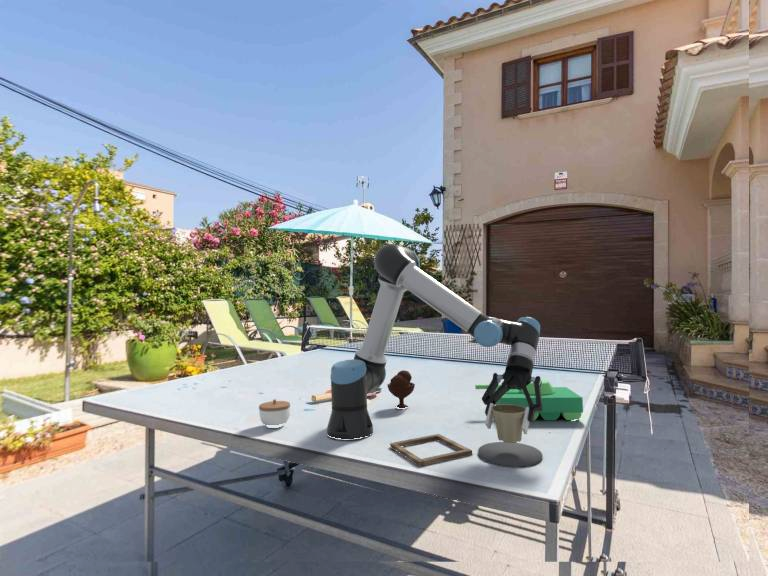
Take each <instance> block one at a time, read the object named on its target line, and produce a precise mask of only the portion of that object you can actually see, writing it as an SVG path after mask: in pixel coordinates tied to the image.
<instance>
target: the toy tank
mask: <svg viewBox="0 0 768 576" xmlns="http://www.w3.org/2000/svg"><path fill="white" fill-rule="evenodd" d="M541 381H542V384H541V387H540V389H541V398H542V406H543V410H542V411H536V412H535V414H534V420H533V422H534V421H536V420H537V418H538V417H539V416H540V417H541V418H542V419H544V420H545V421H546V420H555V421H557V420H558V419H559V418H560V417H563V418H564V419H565V420H566V421H567V420H574V419H579V418H580V419H581V416H582V413H584V404H583V397H582V396H581V395H579V394H577V393H576V392H574V391H573V390H571V389H570V388H568V387H566V386H552V384H551V383H550V382H549V380H548V381H546V380H543V379H541ZM488 386H489V384H475V390H487V388H488ZM500 386H501V384H498V386H497V388H496V390H497V389H498V388H499V387H500ZM526 387H527V390H528V392H529V395H530V397H531V400H532V402H533V404H536V397H535V388H534V384H533V382H531V383H529V384H528V385H527V386H526ZM496 390H495V391H496ZM500 404H512V405H519V406H522V407H525V408H526V407H529V404H528V402H527V399H526V397H525V394H524V392H523V389H521V390H517V389H510V390H509V391H508V392H506V393H505V394H504V395H503V396H502V397H501V399H500V400H499V401H498V402H497V403H496V404H495V405H500ZM495 405H494V406H495ZM580 419H579V420H580Z"/></svg>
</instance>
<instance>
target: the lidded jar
mask: <svg viewBox="0 0 768 576" xmlns="http://www.w3.org/2000/svg"><path fill="white" fill-rule="evenodd" d="M290 407H291V403H290V402H289V401H285V400H277V399H273V400H272V401H267V402H263V403H260V404H259V406H258V410H259V418H260V421H261V423H262V424H263V425H264V424H265V425H279V424H283V423H285V424H287V422H288V421H289V417H290V413H291V408H290ZM265 425H264V426H265Z"/></svg>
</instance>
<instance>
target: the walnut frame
mask: <svg viewBox="0 0 768 576" xmlns="http://www.w3.org/2000/svg"><path fill="white" fill-rule="evenodd" d="M434 441H438V442H441V443H443V445H444V444H445V445H447V446H448V447H450V448H452V449H454V450H456V451H451V452H447V453H443V454H439V455H435V456H429V457H425V458H424V457H423V458H421V457H419V456H417V454H415V453H413V452H411V451H409V450H408V449H406V448H405V447H407V446H406V445H409V446H413V445H412V444H414V445H418V443H419V444H423V442H424V443H429V442H434ZM389 445H390V446H391V447H392V448H393V449H392V448H391V447H390V448H391V449H392V450H394V449H395V450H397V451H398V452H400V453H401V454H403V455H404V456H406V457H407V458H408V459H407V458H406V457H405V458H406V459H407V460H409V459H410V460H411V462H412V461H413V462H414V463H413V462H412V463H413V464H415V463H416V464H417V466H418V465H419V466H420V467H424V466H429V465H432V463H433V464H437V463H436V462H438V463H440V462H441V461H442V462H445V461H450V459H451V460H455V459H458V458H459V459H460V458H463V457H467V456H468V457H469V456H471V455H473V449H470V448H468V447H466V446H464V445H463V444H461V443H458V442H457V441H455V440H452V439H449V438H448V437H446V436H444V435H442V434H439V433H436V434H432V435H426V436H425V435H424V436H420V437H415V438H410V439H405V440H399V441H395V442H390V443H389ZM401 446H404V447H401ZM395 450H394V451H395ZM397 451H396V452H397ZM398 452H397V453H398ZM400 453H399V454H400ZM401 454H400V455H401ZM403 455H402V456H403ZM404 456H403V457H404ZM410 460H409V461H410ZM442 462H441V463H442ZM416 464H415V465H416ZM428 464H429V465H428ZM423 465H424V466H423ZM419 466H418V467H419Z"/></svg>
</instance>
